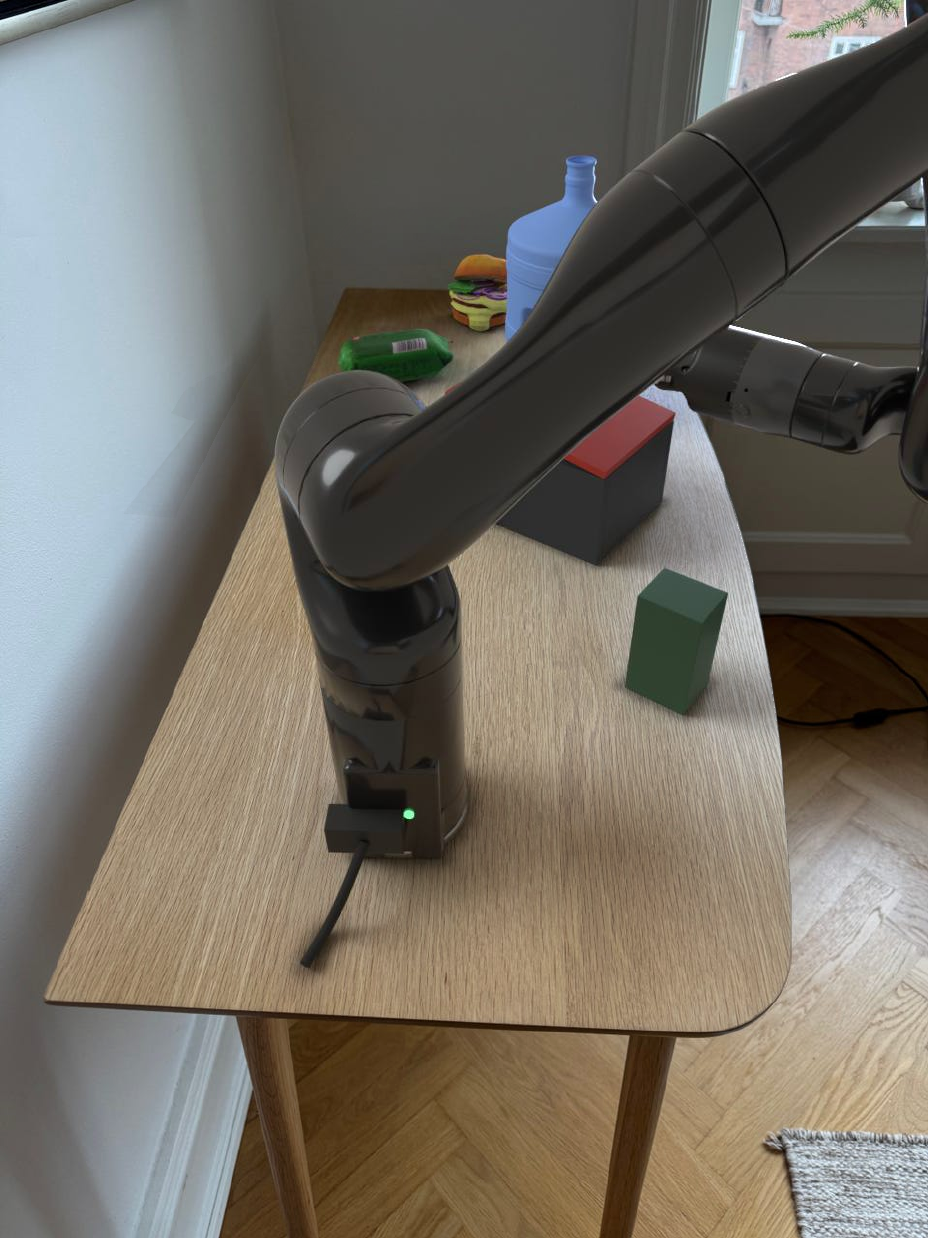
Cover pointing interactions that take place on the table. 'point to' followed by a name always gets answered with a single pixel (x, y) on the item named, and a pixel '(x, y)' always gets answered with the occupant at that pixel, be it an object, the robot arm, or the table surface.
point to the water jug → (545, 241)
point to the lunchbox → (593, 502)
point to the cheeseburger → (480, 292)
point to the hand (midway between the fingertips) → (579, 331)
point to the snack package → (397, 354)
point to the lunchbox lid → (619, 436)
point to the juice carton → (674, 639)
